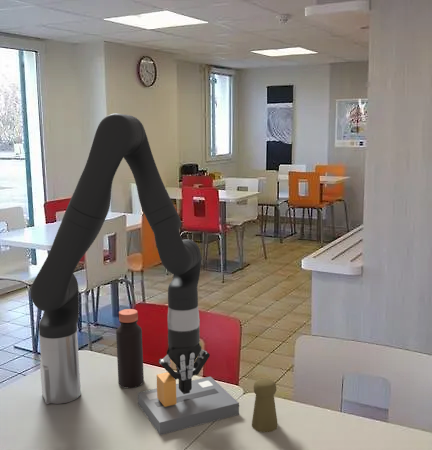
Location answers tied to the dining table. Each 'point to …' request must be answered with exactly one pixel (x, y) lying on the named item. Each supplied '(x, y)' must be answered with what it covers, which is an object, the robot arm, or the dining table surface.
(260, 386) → the olive pawn
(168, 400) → the knob
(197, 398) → the panel
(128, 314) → the bottle
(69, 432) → the dining table surface
